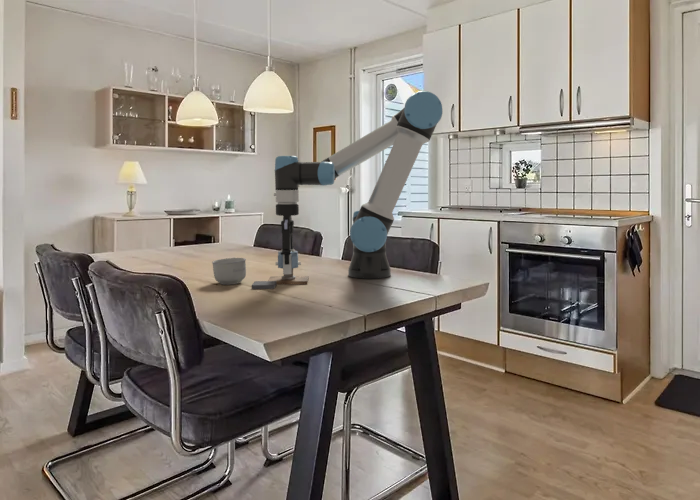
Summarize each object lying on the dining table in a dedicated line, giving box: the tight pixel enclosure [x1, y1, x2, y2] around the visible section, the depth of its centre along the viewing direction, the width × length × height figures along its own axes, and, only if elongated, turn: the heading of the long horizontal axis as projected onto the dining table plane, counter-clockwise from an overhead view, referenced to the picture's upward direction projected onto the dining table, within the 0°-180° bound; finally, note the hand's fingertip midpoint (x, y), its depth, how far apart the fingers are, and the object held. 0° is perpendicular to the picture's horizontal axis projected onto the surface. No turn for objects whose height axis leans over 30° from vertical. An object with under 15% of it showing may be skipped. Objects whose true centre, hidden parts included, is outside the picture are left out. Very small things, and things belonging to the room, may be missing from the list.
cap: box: [275, 249, 302, 270], centre depth 179 cm, size 8×7×6 cm
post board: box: [267, 268, 309, 286], centre depth 179 cm, size 13×10×9 cm
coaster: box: [251, 280, 278, 290], centre depth 171 cm, size 7×7×1 cm
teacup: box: [211, 257, 247, 286], centre depth 179 cm, size 14×11×8 cm
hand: (288, 272), depth 179 cm, fingers closed on cap, 7 cm apart
